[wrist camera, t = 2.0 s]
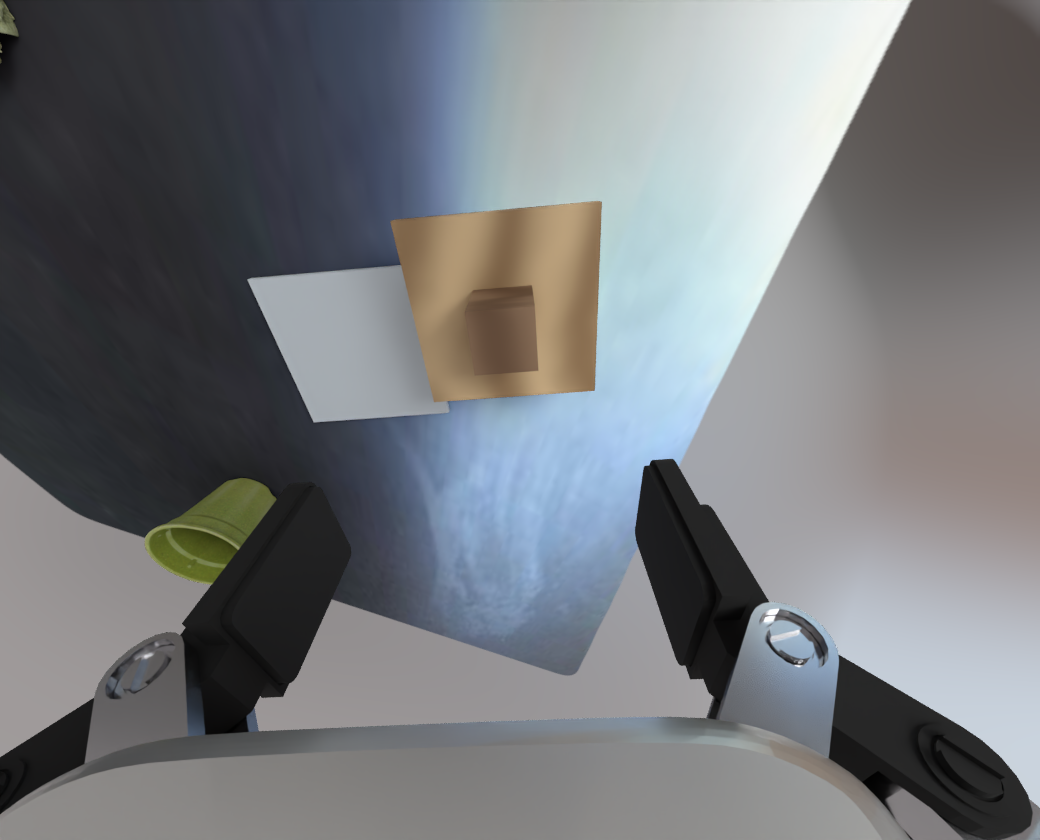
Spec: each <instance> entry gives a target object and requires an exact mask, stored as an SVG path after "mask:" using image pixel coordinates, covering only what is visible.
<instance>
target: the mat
mask: <svg viewBox="0 0 1040 840" xmlns="http://www.w3.org/2000/svg"><path fill="white" fill-rule="evenodd" d="M247 280H248V282H249V284H250V287H251V289H252V291H253V293H254V295H255V297H256V299H257V302H258V304H259V306H260V308H261V310H262V312H263V314H264V317H265V319H266V321H267V323H268V325H269V327H270V329H271V332H272V334H273V336H274V338H275V340H276V342H277V344H278V347H279V349H280V351H281V353H282V355H283V357H284V359H285V362H286V364H287V366H288V368H289V370H290V372H291V374H292V377H293V379H294V381H295V383H296V385H297V387H298V389H299V392H300V394H301V396H302V398H303V400H304V402H305V404H306V407H307V409H308V411H309V413H310V415H311V417H312V419H313V422H325V421H340V420H354V419H368V418H382V417H397V416H411V415H425V414H439V413H449V411H450V408H449V403H448V401H443V402H434V400H433V396H432V392H431V388H430V384H429V380H428V375H427V371H426V367H425V363H424V359H423V355H422V351H421V346H420V342H419V338H418V334H417V330H416V326H415V321H414V317H413V313H412V309H411V305H410V301H409V297H408V292H407V288H406V284H405V280H404V276H403V272H402V268H401V265H396V266H384V267H373V268H361V269H350V270H338V271H326V272H315V273H303V274H292V275H280V276H269V277H257V278H250V279H247Z"/></svg>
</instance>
